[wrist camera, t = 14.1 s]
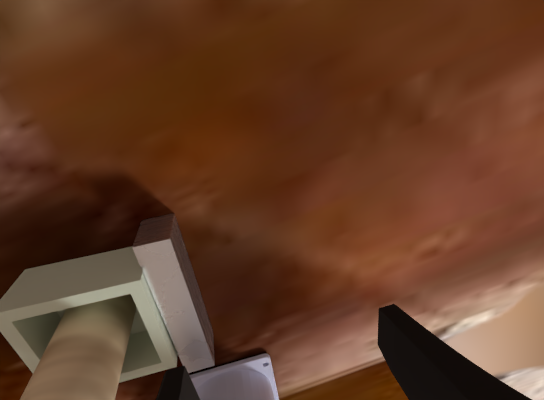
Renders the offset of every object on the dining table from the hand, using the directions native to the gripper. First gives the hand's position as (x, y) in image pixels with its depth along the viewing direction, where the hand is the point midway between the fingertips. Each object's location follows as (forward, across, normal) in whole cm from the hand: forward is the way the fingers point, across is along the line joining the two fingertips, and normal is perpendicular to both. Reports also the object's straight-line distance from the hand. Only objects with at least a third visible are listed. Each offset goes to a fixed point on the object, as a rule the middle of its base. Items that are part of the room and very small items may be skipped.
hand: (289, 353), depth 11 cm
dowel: (+10, +11, +4) cm, 15 cm away
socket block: (+11, +10, +4) cm, 15 cm away
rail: (+10, +6, +4) cm, 13 cm away
